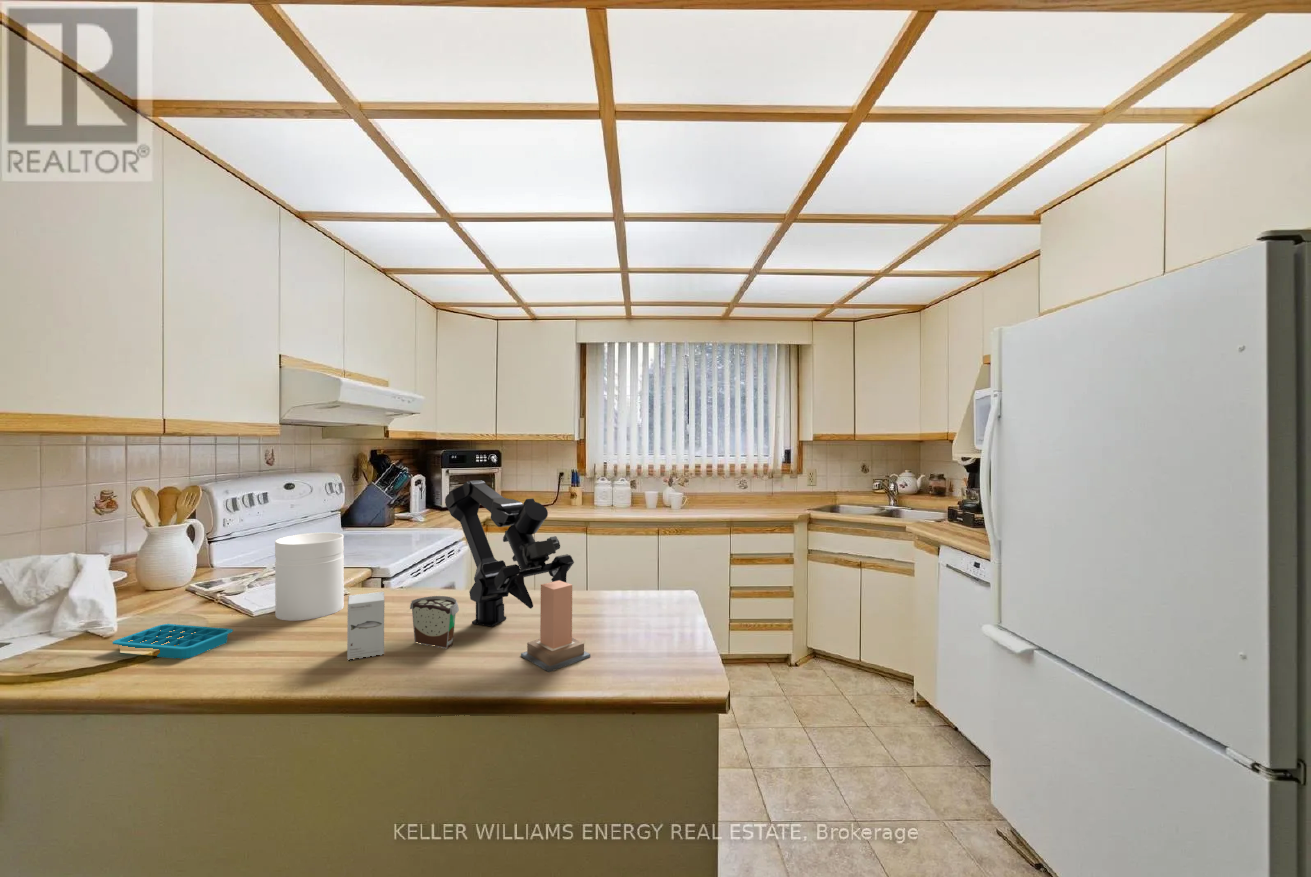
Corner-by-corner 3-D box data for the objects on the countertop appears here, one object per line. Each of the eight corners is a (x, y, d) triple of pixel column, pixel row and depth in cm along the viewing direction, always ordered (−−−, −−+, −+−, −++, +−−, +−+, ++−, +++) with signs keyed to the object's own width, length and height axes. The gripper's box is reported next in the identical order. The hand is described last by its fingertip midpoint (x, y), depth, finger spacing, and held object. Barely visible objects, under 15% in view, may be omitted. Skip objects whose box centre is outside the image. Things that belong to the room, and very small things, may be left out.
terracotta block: (540, 642, 122) (540, 584, 121) (558, 636, 125) (559, 580, 125) (553, 648, 118) (553, 589, 118) (571, 642, 122) (572, 584, 121)
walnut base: (520, 655, 122) (520, 642, 122) (561, 642, 129) (561, 629, 129) (548, 672, 114) (548, 657, 114) (590, 656, 122) (590, 642, 122)
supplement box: (346, 662, 118) (346, 604, 117) (348, 649, 124) (347, 594, 124) (384, 655, 121) (384, 599, 121) (384, 643, 128) (384, 590, 127)
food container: (469, 640, 130) (470, 598, 130) (452, 649, 125) (452, 606, 124) (428, 633, 134) (428, 593, 134) (409, 642, 129) (409, 600, 128)
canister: (355, 607, 152) (355, 536, 152) (292, 625, 139) (292, 547, 138) (326, 597, 161) (325, 530, 160) (264, 613, 147) (263, 539, 147)
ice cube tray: (164, 635, 132) (164, 623, 132) (236, 641, 129) (236, 629, 129) (108, 655, 120) (108, 642, 120) (186, 662, 117) (186, 649, 117)
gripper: (501, 531, 120) (527, 592, 112) (570, 521, 133) (597, 575, 126) (483, 559, 126) (507, 619, 118) (551, 547, 139) (576, 601, 131)
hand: (549, 602), depth 123 cm, fingers open, 9 cm apart
